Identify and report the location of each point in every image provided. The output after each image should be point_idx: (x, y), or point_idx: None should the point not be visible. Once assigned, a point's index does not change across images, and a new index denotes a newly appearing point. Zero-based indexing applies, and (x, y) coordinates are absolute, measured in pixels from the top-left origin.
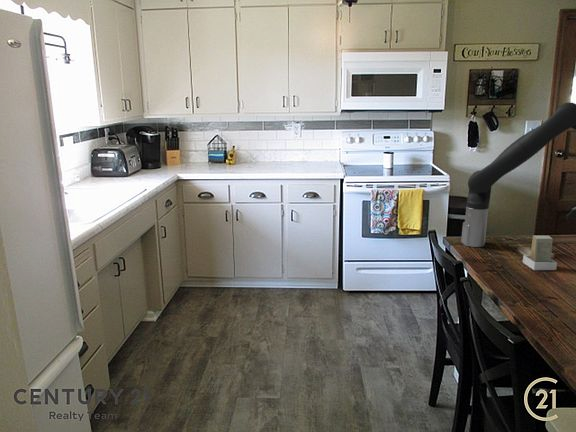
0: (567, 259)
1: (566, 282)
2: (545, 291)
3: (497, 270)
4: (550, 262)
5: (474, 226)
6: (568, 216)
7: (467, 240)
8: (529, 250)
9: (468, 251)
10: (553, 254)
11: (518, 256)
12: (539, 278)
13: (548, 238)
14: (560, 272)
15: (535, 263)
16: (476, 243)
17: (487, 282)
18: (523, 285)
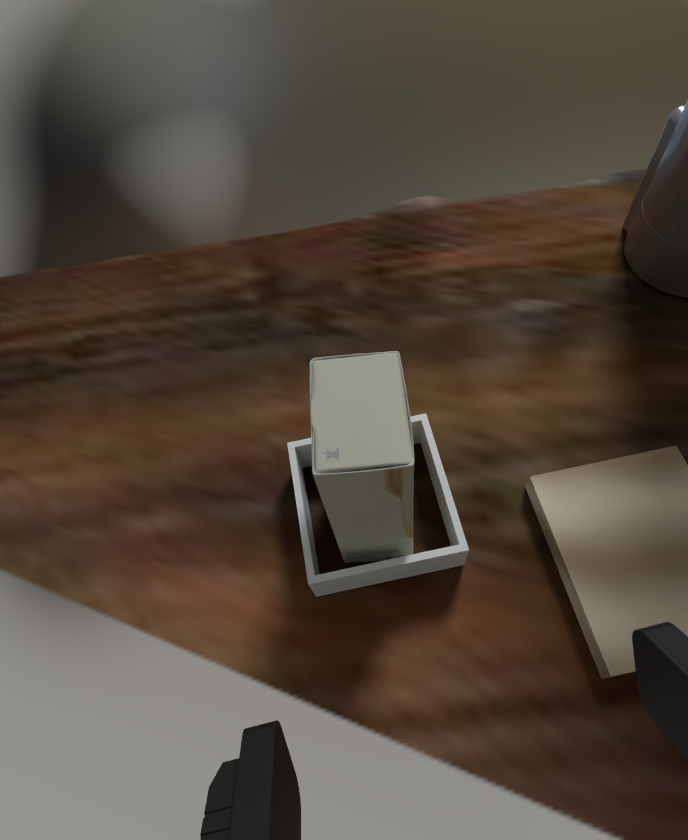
0: (590, 789)
1: (111, 586)
2: (15, 443)
3: (274, 308)
4: (306, 539)
5: (674, 132)
6: (652, 661)
7: (635, 199)
8: (631, 505)
9: (534, 230)
10: (606, 668)
11: (534, 438)
12: (174, 460)
13: (315, 440)
14: (272, 610)
15: (288, 448)
16: (634, 244)
17: (135, 261)
18: (93, 373)
